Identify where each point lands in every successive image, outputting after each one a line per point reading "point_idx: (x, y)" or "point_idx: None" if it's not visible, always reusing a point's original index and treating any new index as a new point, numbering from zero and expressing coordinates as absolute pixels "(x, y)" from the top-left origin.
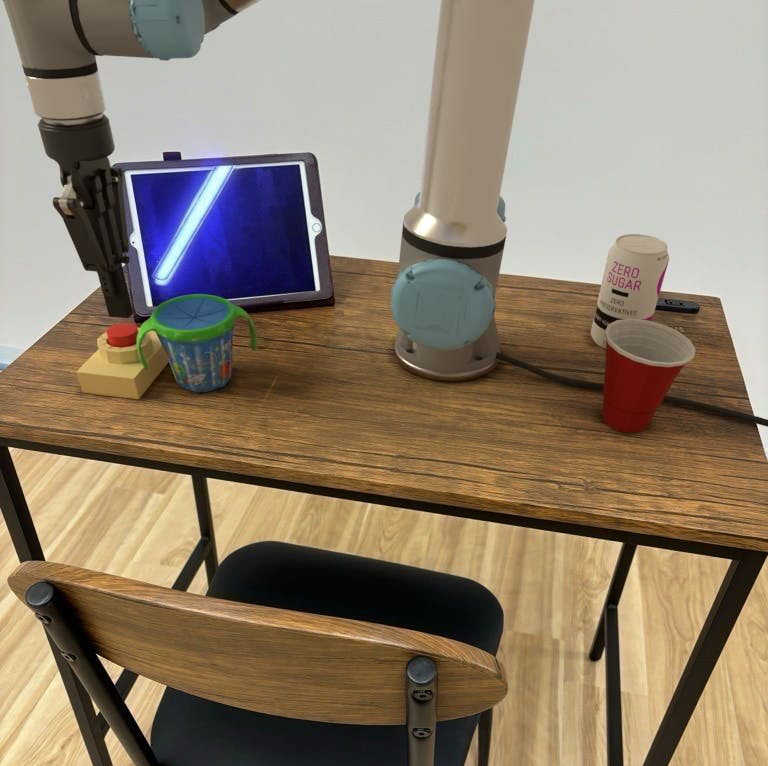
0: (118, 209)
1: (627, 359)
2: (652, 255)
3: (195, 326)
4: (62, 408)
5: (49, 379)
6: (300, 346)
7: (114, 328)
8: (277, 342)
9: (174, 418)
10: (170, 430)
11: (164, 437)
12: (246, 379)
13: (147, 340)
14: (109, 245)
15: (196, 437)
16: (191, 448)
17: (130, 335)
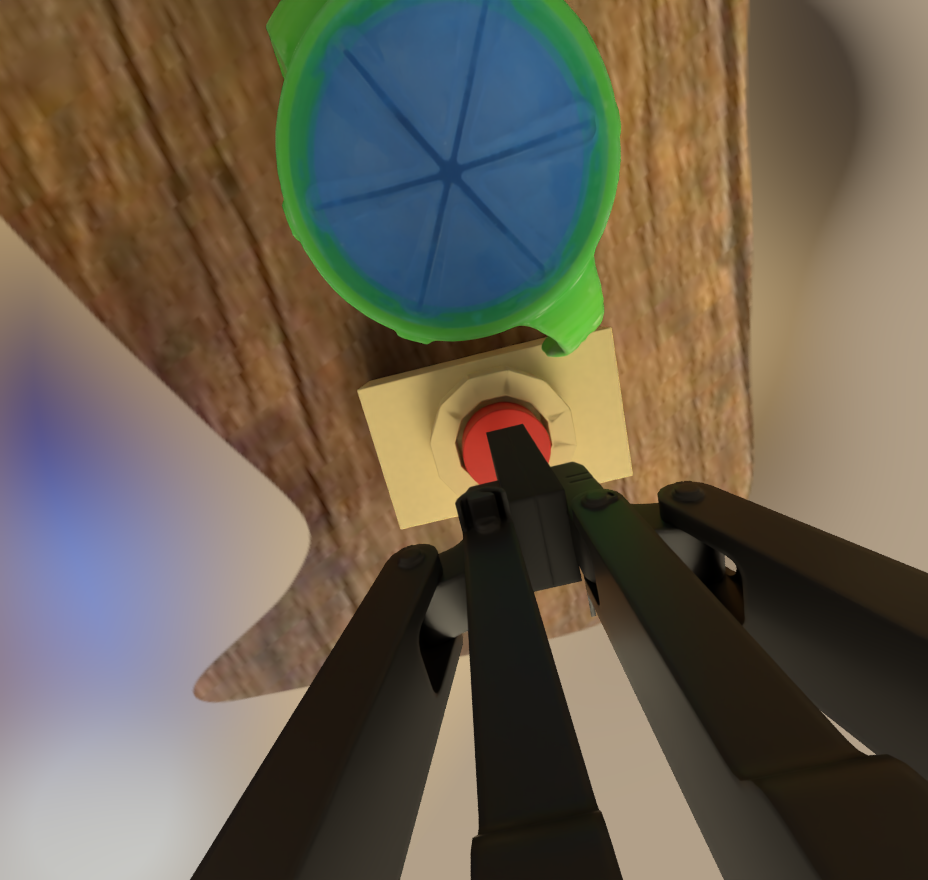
0: (343, 787)
1: None
2: None
3: (533, 94)
4: (677, 453)
5: None
6: (151, 61)
7: None
8: (174, 149)
9: (631, 191)
10: (680, 167)
11: (710, 162)
12: None
13: (483, 380)
14: (615, 563)
15: (687, 79)
16: (733, 61)
17: (523, 410)
